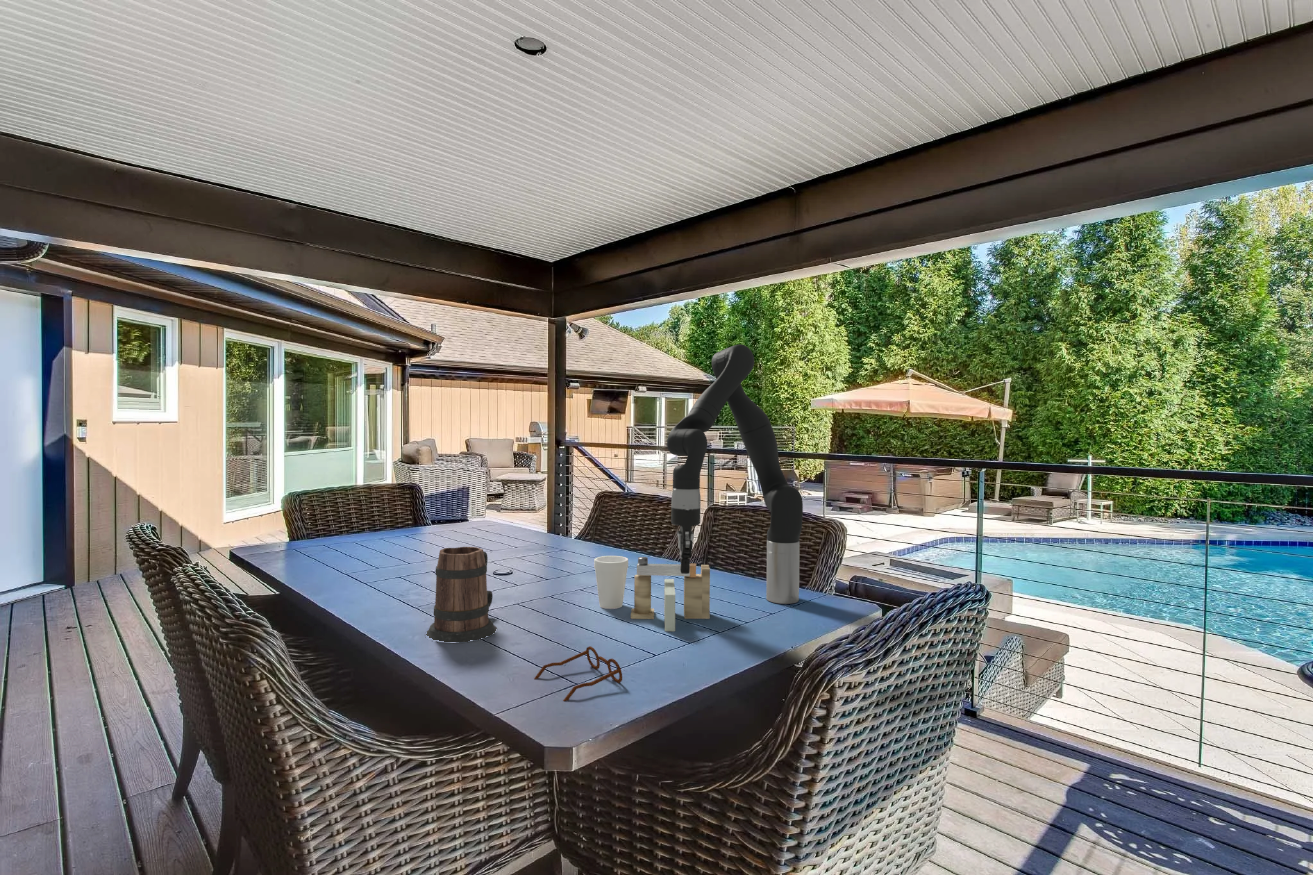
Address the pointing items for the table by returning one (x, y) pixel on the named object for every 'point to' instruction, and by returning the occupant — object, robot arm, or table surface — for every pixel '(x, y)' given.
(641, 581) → the post
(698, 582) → the keeper
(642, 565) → the bar
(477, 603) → the tankard
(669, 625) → the door edge
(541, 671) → the glasses
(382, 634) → the table surface
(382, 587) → the table surface
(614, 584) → the foam cup
